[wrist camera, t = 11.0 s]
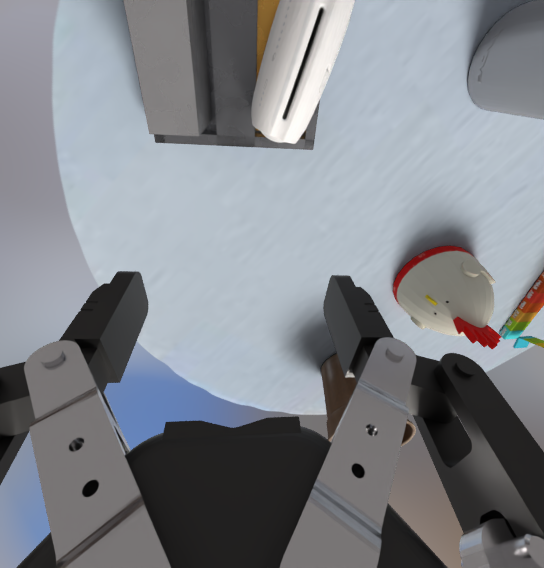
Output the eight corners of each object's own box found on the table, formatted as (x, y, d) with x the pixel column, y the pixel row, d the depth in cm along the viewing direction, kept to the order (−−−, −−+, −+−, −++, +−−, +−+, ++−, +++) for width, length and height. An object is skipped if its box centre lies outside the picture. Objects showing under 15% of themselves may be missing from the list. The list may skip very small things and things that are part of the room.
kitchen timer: (428, 234, 43) (496, 296, 31) (491, 258, 47) (573, 322, 35) (377, 298, 51) (416, 367, 39) (434, 314, 54) (486, 382, 43)
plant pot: (358, 389, 70) (382, 460, 57) (300, 380, 65) (312, 455, 53) (396, 350, 61) (435, 424, 48) (332, 337, 56) (356, 414, 44)
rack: (327, -28, 25) (368, -80, 16) (307, 142, 34) (327, 167, 25) (134, -47, 24) (67, -117, 15) (164, 135, 32) (133, 159, 23)
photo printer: (283, -23, 22) (310, -97, 13) (329, 4, 23) (387, -44, 14) (245, 115, 28) (244, 138, 18) (284, 131, 29) (302, 161, 19)
